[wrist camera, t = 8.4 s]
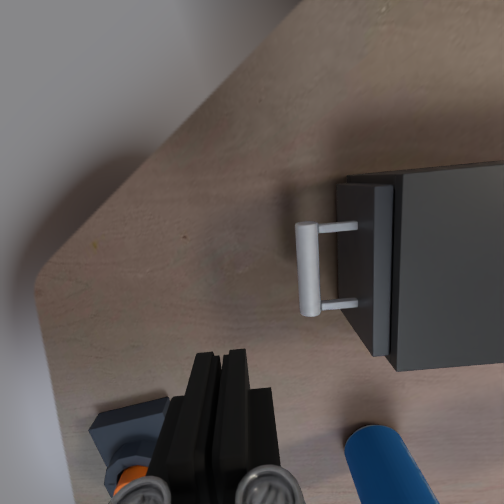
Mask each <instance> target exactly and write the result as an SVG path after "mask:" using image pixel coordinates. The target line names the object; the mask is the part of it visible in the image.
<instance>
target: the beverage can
mask: <svg viewBox="0 0 504 504" xmlns="http://www.w3.org/2000/svg"><path fill="white" fill-rule="evenodd" d="M344 451H345V457H346V460H347V463H348V466H349V469H350V472H351V475H352V478H353V481H354V484H355V487H356V489H357V492H358V495H359V498H360V501H361V504H439V502H438V500H437V499H436V497H435V495H434V493H433V492H432V490H431V488H430V487H429V485H428V483H427V481H426V480H425V478H424V476H423V475H422V473H421V471H420V469H419V468H418V466H417V464H416V462H415V461H414V459H413V457H412V456H411V454H410V452H409V450H408V449H407V447H406V445H405V444H404V442H403V440H402V438H401V437H400V435H399V434H398V433H397V432H396V431H395V430H393V429H392V428H390V427H387V426H383V425H368V426H364V427H362V428H360V429H358V430H357V431H355V432H354V433H353V434H352V435H351V436H350V437H349V439H348V440H347V442H346V445H345V450H344Z"/></svg>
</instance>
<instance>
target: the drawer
mask: <svg viewBox="0 0 504 504" xmlns="http://www.w3.org/2000/svg"><path fill="white" fill-rule="evenodd" d="M336 190H337V222H334V223H323V224H318V223H317V222H315V221H304V222H298V223H296V224H295V234H296V252H297V269H298V286H299V304H300V313H301V314H302V315H304V316H308V317H313V316H317V315H319V314H320V313H321V310H332V309H340V310H341V311H342V313H343V314H344V316H345V317H346V318H347V320H348V321H349V323H350V324H351V326H352V327H353V329H354V330H355V332H356V333H357V334H358V336H359V337H360V339H361V340H362V342H363V343H364V345H365V346H366V348H367V349H368V350H369V352H370V353H371V355H372V356H373V357H375V356H387V355H389V350H390V322H391V324H392V290H393V253H394V216H395V189H394V185H392V184H369V183H341V184H337V185H336ZM328 232H337V237H338V283H339V299H333V300H321V297H320V271H319V245H318V233H328Z"/></svg>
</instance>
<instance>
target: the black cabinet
mask: <svg viewBox="0 0 504 504" xmlns="http://www.w3.org/2000/svg"><path fill="white" fill-rule="evenodd" d="M347 183H369V184H392V185H394V189H395V216H394V253H393V290H392V324H391V322H390V350H389V355H387V356H385V357H386V358H387V360H388V361H389V362H390V363H391V365H392V366H393V368H394V369H395V370H396V372H400V371H412V370H423V369H435V368H447V367H459V366H471V365H483V364H494V363H504V160H502V161H491V162H481V163H470V164H460V165H450V166H439V167H429V168H419V169H408V170H398V171H387V172H377V173H367V174H356V175H347Z"/></svg>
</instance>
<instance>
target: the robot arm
mask: <svg viewBox="0 0 504 504" xmlns="http://www.w3.org/2000/svg"><path fill="white" fill-rule="evenodd" d="M108 504H305V501H304V497H303V494H302V491H301V488H300V486H299V484H298V482H297V480H296V478H295V477H294V476H293V475H292V474H291V473H290V472H289V471H287V470H286V469H284V468H282V467H281V465H280V456H279V448H278V440H277V432H276V424H275V416H274V407H273V399H272V391H271V387H270V388H259V389H250V384H249V375H248V366H247V357H246V349H236V350H230V351H229V355H224V356H223V364H222V369H221V362H220V356H214V353H213V352H204V353H197V354H196V357H195V360H194V364H193V367H192V371H191V375H190V378H189V382H188V385H187V389H186V393H185V396H175V397H173V398H172V399H171V401H170V404H169V407H168V410H167V413H166V416H165V419H164V422H163V425H162V428H161V431H160V434H159V437H158V440H157V443H156V446H155V449H154V452H153V455H152V458H151V461H150V464H149V467H148V470H147V473H146V475H145V476H143V477H140V478H138V479H135V480H132V481H131V482H129V483H128V484H126V485H125V486H123V487H122V488H121V489H120V490H119V491H118V492H117V493H116V494H115V495H114V496H113V497H112V499H111V500H110V502H109V503H108Z"/></svg>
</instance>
